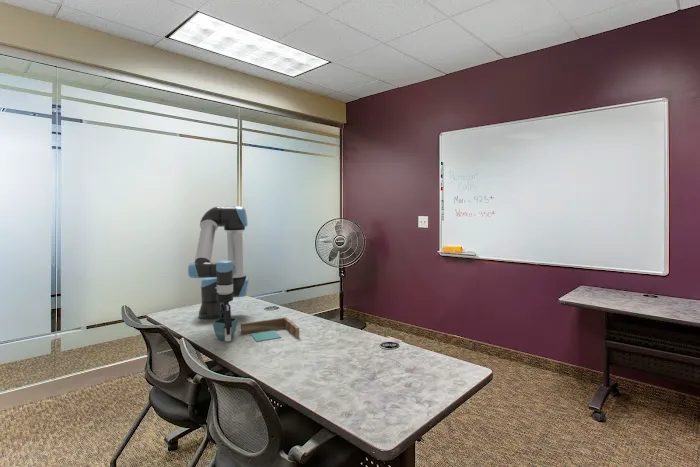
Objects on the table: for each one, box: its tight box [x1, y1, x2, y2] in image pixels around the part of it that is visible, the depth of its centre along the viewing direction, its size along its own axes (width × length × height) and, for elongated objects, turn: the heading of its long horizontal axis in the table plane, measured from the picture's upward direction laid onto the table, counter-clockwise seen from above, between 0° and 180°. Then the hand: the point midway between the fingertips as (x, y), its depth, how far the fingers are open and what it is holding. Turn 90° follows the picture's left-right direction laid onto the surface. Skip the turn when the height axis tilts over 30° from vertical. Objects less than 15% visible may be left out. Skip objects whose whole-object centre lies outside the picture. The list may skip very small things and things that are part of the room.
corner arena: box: [240, 316, 300, 339], centre depth 183 cm, size 20×24×5 cm
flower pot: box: [212, 317, 238, 341], centre depth 178 cm, size 9×9×9 cm
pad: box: [250, 329, 282, 343], centre depth 182 cm, size 12×12×1 cm
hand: (225, 336), depth 179 cm, fingers closed on flower pot, 11 cm apart
